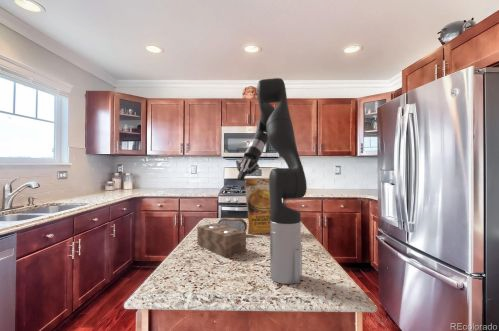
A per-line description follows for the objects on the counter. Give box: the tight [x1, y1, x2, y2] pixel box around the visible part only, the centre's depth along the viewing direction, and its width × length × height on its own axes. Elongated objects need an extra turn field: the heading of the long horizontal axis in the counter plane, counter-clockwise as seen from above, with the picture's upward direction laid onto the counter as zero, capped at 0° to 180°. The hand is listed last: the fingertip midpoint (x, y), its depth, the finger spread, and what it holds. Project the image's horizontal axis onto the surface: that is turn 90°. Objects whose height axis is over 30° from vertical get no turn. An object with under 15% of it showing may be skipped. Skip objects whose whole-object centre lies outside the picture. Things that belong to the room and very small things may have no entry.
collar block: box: [196, 222, 247, 259], centre depth 105 cm, size 21×10×8 cm, turn 41°
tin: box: [217, 217, 248, 232], centre depth 126 cm, size 15×3×8 cm, turn 84°
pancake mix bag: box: [244, 178, 270, 235], centre depth 131 cm, size 7×19×28 cm, turn 103°
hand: (239, 179), depth 115 cm, fingers closed
